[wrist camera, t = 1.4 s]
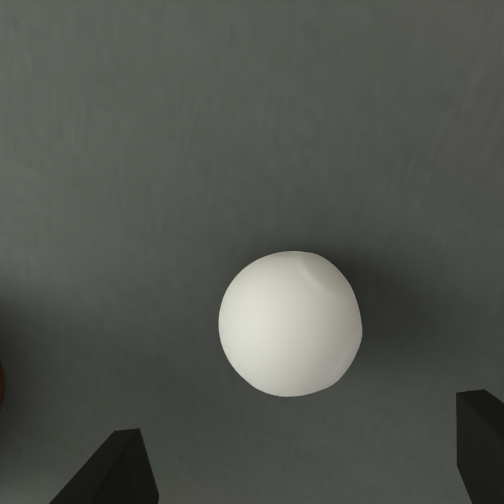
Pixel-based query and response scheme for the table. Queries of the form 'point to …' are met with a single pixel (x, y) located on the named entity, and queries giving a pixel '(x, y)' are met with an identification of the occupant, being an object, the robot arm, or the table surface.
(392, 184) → the table surface
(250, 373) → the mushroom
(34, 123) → the table surface
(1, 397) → the food container
